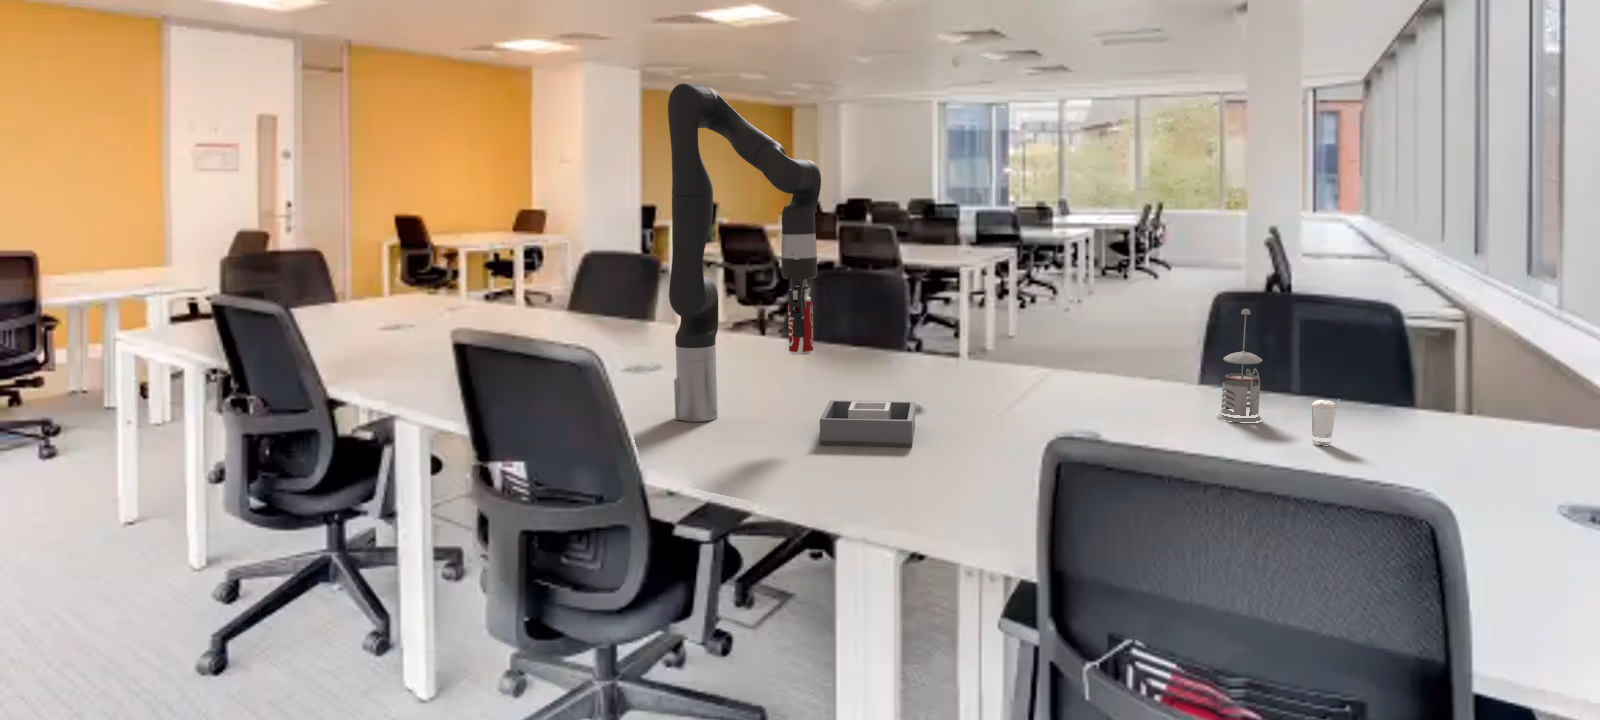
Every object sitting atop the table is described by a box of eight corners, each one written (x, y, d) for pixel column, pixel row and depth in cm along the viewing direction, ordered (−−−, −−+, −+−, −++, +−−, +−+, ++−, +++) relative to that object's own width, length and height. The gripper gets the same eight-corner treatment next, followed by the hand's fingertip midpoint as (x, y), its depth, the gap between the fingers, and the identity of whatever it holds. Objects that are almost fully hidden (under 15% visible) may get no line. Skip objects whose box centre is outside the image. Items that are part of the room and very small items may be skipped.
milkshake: (1327, 449, 205) (1331, 400, 203) (1303, 443, 209) (1307, 395, 208) (1342, 446, 207) (1346, 397, 205) (1318, 440, 211) (1322, 393, 210)
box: (819, 445, 213) (819, 416, 212) (830, 424, 232) (830, 398, 231) (911, 447, 210) (912, 418, 209) (915, 425, 229) (915, 399, 228)
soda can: (810, 355, 217) (809, 298, 215) (786, 354, 218) (785, 298, 216) (815, 351, 222) (814, 296, 220) (792, 351, 223) (790, 296, 221)
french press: (1250, 413, 237) (1257, 305, 233) (1275, 425, 225) (1282, 312, 221) (1208, 414, 236) (1214, 306, 232) (1231, 426, 225) (1237, 312, 221)
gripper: (787, 253, 225) (788, 330, 227) (775, 258, 211) (778, 340, 213) (821, 253, 223) (822, 330, 226) (812, 257, 209) (813, 340, 212)
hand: (800, 334), depth 220 cm, fingers closed on soda can, 5 cm apart
